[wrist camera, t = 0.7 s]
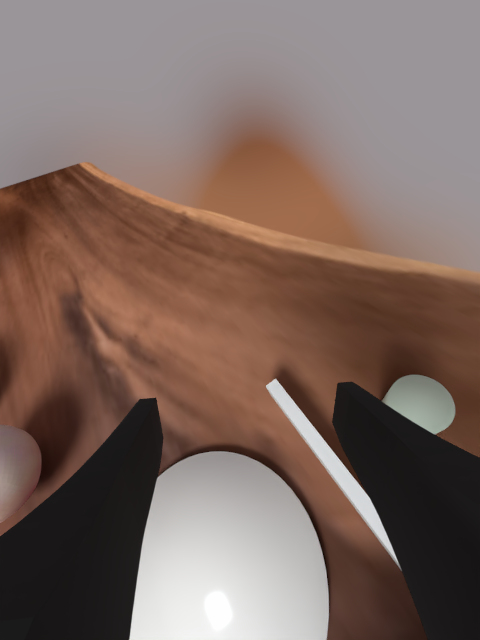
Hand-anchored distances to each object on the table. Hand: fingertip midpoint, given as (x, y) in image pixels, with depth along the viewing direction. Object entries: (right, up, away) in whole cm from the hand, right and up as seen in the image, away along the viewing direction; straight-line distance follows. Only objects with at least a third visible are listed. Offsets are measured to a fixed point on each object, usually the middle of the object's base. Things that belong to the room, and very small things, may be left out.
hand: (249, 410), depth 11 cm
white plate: (-2, -17, +12) cm, 21 cm away
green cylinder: (+15, -5, +15) cm, 21 cm away
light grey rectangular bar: (+8, -10, +14) cm, 19 cm away
